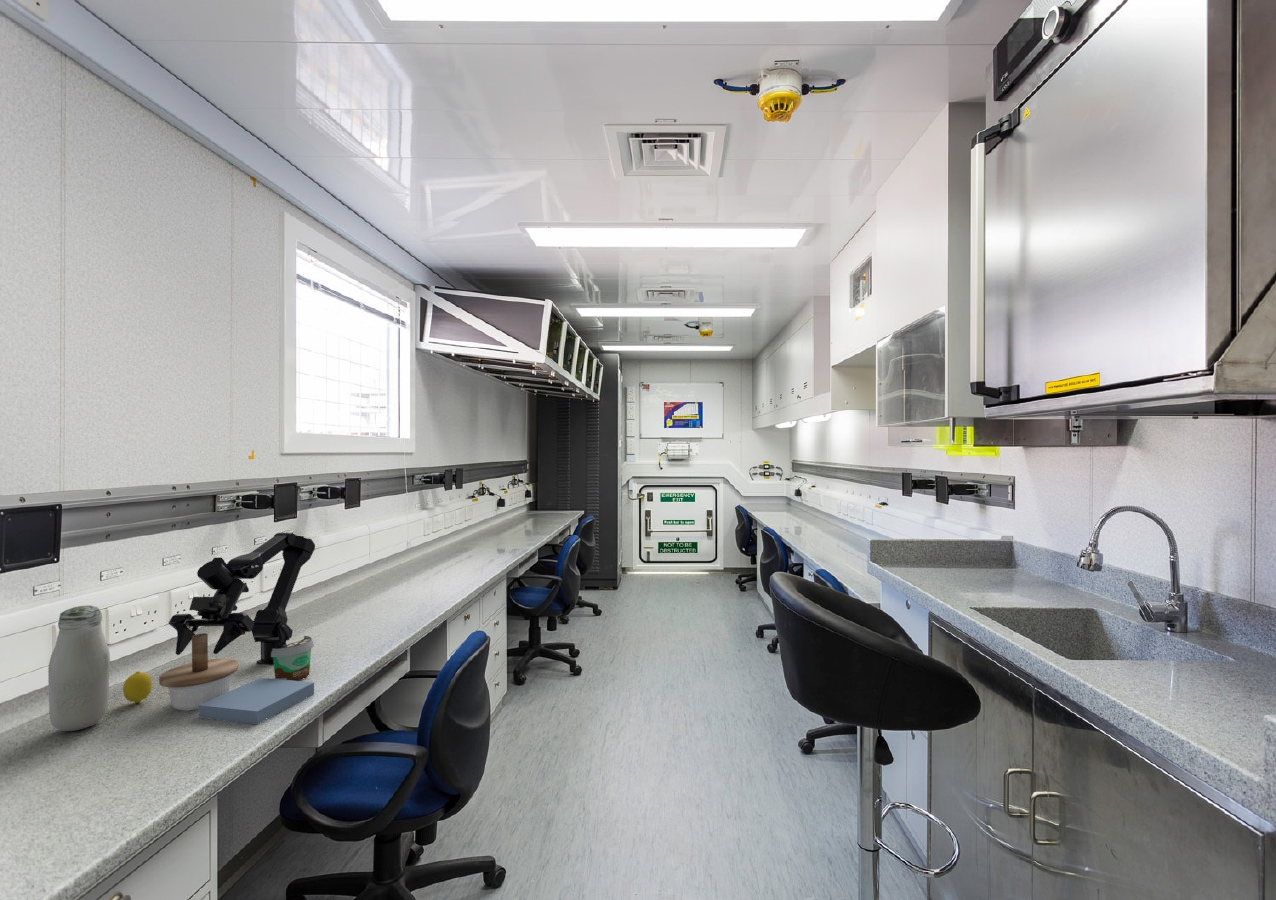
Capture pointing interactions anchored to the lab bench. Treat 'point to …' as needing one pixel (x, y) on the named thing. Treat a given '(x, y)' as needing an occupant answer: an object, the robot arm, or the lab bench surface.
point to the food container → (293, 660)
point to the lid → (198, 667)
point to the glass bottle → (79, 670)
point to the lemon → (137, 687)
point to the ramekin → (198, 693)
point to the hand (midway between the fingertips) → (195, 653)
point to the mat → (256, 700)
